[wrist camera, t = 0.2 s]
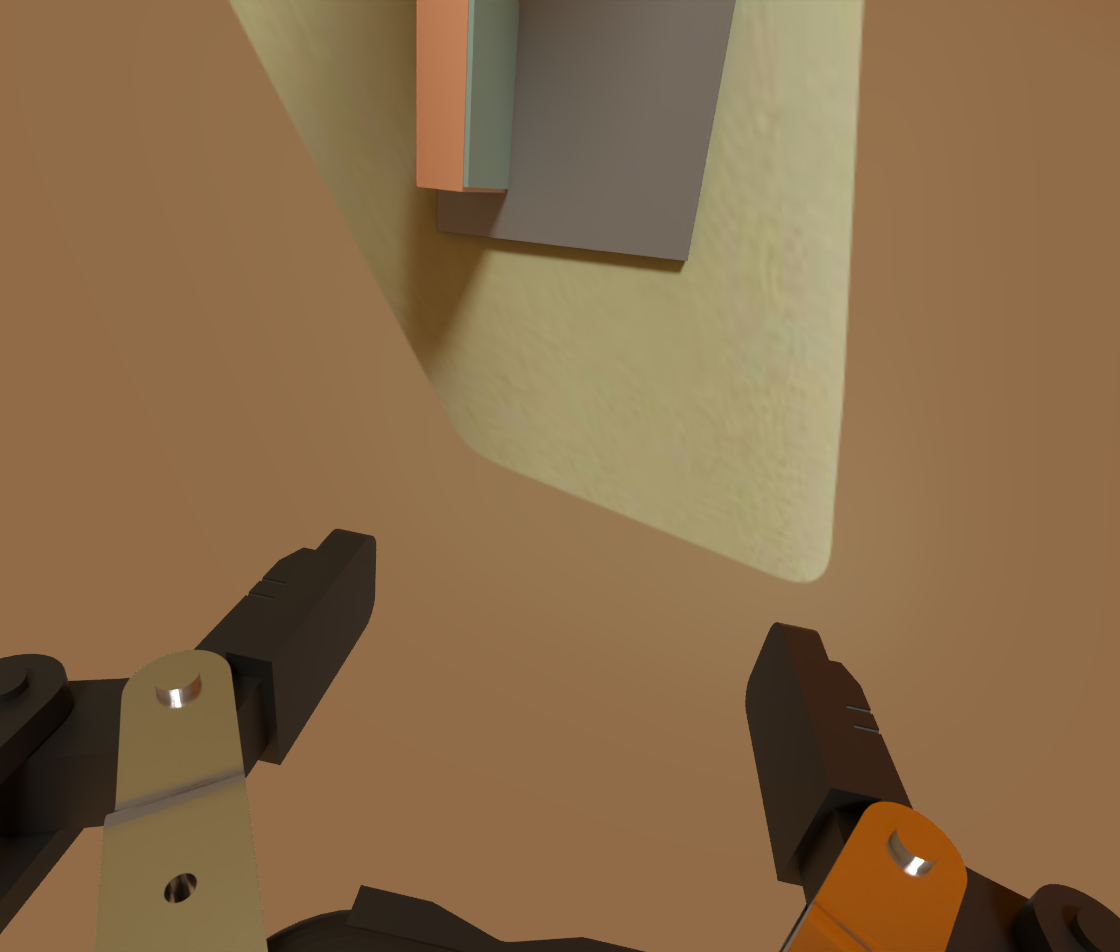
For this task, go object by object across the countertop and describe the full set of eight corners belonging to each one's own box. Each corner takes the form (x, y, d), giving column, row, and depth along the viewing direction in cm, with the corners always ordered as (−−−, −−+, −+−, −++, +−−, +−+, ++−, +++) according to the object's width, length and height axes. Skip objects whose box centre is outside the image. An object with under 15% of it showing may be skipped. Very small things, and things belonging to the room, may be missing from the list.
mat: (445, -65, 31) (441, -71, 30) (740, -36, 30) (743, -42, 29) (440, 230, 37) (436, 230, 36) (686, 259, 36) (687, 261, 35)
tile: (478, -4, 31) (416, -86, 22) (520, 0, 31) (475, -81, 22) (471, 188, 35) (416, 186, 26) (508, 193, 35) (466, 192, 26)
